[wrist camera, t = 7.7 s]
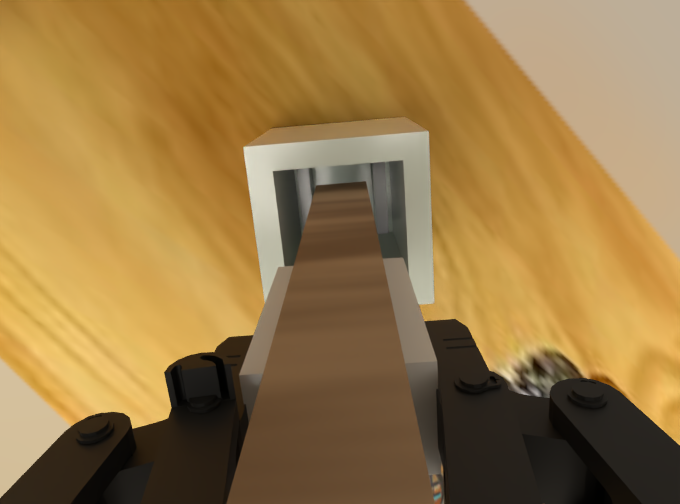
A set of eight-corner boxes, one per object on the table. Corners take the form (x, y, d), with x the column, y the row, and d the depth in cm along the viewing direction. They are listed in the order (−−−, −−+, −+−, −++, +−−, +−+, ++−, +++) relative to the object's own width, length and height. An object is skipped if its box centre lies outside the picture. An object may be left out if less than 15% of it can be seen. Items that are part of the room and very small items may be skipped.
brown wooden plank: (316, 185, 26) (134, 831, 4) (366, 181, 26) (501, 816, 4) (323, 260, 28) (222, 1101, 5) (371, 256, 28) (497, 1097, 5)
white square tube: (271, 128, 33) (243, 146, 24) (404, 116, 33) (428, 131, 24) (287, 253, 36) (266, 315, 27) (410, 244, 36) (434, 303, 26)
